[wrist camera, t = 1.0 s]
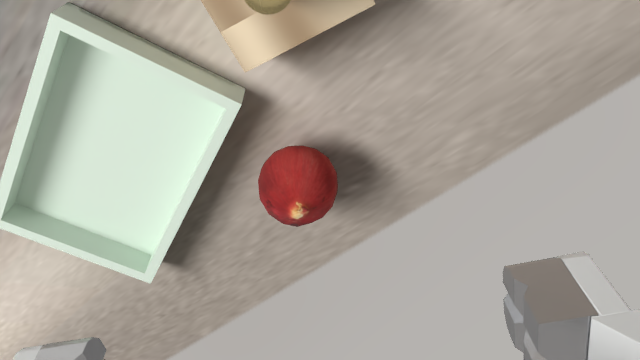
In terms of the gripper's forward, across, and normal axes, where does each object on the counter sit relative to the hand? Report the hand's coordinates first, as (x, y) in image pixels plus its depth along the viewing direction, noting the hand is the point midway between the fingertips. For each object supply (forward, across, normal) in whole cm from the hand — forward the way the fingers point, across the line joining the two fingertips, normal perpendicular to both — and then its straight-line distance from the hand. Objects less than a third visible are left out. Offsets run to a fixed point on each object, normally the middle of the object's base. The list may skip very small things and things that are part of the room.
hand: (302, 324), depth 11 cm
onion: (+30, +2, +12) cm, 33 cm away
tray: (+30, +16, +8) cm, 35 cm away
